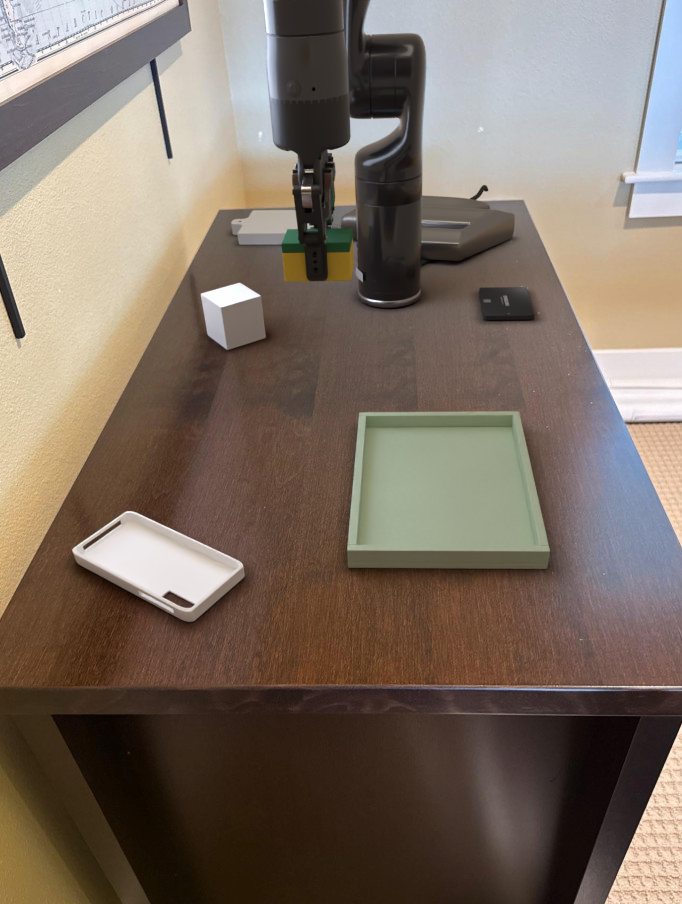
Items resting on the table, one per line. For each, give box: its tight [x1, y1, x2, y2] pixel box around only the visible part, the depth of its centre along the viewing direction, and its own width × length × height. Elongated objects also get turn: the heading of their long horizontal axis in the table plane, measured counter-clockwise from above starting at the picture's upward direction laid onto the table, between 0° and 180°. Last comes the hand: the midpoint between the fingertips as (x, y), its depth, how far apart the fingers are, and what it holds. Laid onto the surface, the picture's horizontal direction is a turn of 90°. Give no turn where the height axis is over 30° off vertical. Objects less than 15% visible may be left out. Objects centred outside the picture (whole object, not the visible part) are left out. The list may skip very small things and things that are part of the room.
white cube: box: [200, 282, 267, 351], centre depth 105 cm, size 6×6×6 cm
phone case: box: [71, 510, 246, 623], centre depth 70 cm, size 7×1×15 cm
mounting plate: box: [230, 209, 332, 246], centre depth 140 cm, size 18×13×2 cm
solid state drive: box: [478, 286, 536, 321], centre depth 111 cm, size 7×10×1 cm
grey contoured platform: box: [340, 194, 516, 262], centre depth 133 cm, size 28×5×28 cm
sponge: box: [280, 227, 355, 283], centre depth 82 cm, size 5×7×4 cm, turn 86°
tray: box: [346, 410, 551, 570], centre depth 77 cm, size 24×18×2 cm
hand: (320, 270), depth 83 cm, fingers closed on sponge, 4 cm apart
